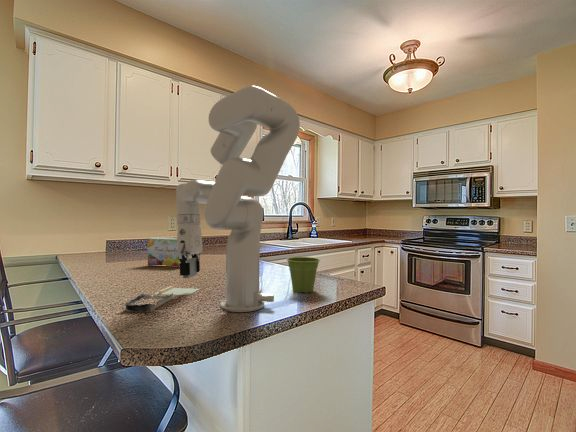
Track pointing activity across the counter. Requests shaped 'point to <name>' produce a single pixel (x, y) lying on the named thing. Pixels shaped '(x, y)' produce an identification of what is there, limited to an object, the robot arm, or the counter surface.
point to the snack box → (163, 251)
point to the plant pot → (303, 273)
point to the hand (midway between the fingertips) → (190, 273)
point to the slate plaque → (192, 268)
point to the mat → (176, 291)
